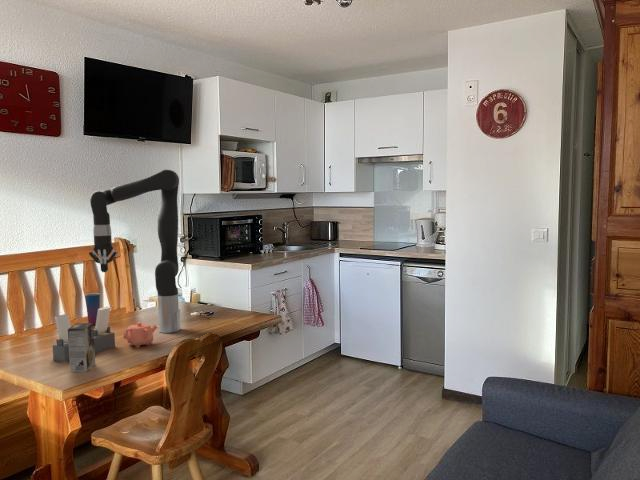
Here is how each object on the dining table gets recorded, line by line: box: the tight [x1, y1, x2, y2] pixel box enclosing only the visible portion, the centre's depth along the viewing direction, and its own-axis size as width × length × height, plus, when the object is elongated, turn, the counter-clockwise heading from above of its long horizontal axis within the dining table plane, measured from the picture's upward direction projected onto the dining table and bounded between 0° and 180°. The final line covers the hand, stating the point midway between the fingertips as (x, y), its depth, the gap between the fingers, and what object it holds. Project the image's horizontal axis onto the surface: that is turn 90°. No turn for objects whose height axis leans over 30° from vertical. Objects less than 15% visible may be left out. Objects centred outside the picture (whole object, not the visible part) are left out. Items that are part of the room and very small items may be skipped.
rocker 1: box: [54, 313, 72, 344], centre depth 213 cm, size 2×5×11 cm, turn 151°
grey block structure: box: [52, 325, 116, 363], centre depth 220 cm, size 7×24×8 cm, turn 152°
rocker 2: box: [94, 306, 111, 334], centre depth 226 cm, size 2×5×11 cm, turn 152°
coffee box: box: [68, 322, 96, 373], centre depth 200 cm, size 9×6×16 cm
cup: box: [84, 292, 101, 326], centre depth 270 cm, size 7×7×15 cm
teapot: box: [123, 321, 158, 349], centre depth 231 cm, size 12×12×10 cm
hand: (104, 271), depth 249 cm, fingers closed
